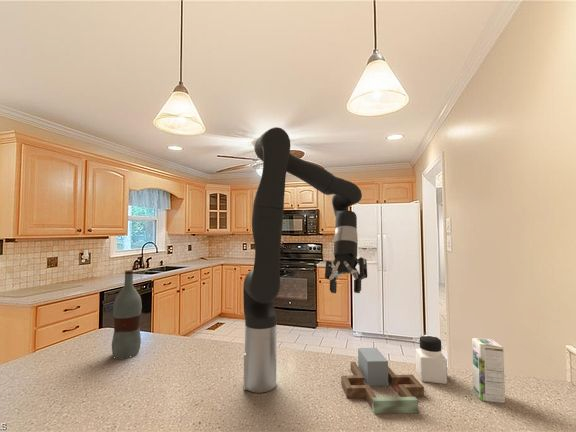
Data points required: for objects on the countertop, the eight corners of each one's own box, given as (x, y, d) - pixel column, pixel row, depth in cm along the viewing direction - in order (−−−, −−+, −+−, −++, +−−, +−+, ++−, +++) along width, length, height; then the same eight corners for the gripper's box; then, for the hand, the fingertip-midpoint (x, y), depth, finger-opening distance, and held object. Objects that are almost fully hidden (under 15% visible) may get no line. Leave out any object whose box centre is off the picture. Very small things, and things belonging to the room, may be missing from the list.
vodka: (136, 347, 113) (139, 268, 114) (143, 354, 106) (146, 270, 108) (108, 353, 106) (111, 270, 108) (114, 362, 99) (117, 273, 101)
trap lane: (353, 414, 71) (353, 401, 71) (335, 370, 94) (335, 360, 94) (438, 412, 72) (438, 399, 72) (399, 369, 95) (399, 359, 95)
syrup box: (472, 389, 82) (470, 337, 83) (495, 392, 81) (493, 338, 82) (481, 401, 77) (479, 344, 78) (506, 404, 76) (504, 346, 76)
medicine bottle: (447, 384, 85) (446, 342, 86) (421, 381, 87) (420, 340, 87) (440, 373, 92) (439, 334, 93) (416, 370, 94) (415, 332, 94)
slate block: (367, 386, 84) (367, 361, 85) (358, 370, 94) (358, 348, 95) (388, 386, 85) (387, 361, 85) (376, 369, 95) (376, 347, 95)
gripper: (321, 242, 98) (319, 291, 93) (358, 236, 89) (358, 291, 83) (334, 247, 103) (333, 294, 97) (371, 242, 94) (372, 294, 88)
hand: (344, 292), depth 90 cm, fingers open, 8 cm apart
